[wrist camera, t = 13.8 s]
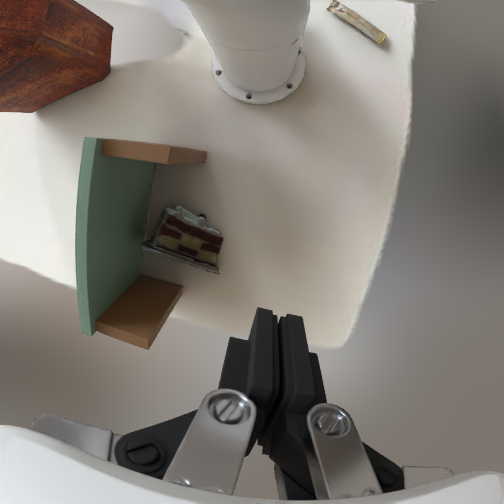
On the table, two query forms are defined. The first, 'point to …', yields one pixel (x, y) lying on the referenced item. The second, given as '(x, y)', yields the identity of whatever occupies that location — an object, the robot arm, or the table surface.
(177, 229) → the chocolate cake
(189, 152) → the cubby shelf
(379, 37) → the snack bar
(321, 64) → the table surface
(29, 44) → the handbag
